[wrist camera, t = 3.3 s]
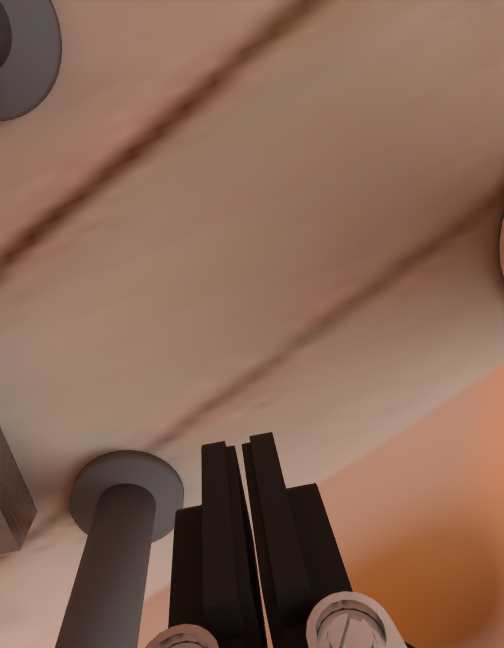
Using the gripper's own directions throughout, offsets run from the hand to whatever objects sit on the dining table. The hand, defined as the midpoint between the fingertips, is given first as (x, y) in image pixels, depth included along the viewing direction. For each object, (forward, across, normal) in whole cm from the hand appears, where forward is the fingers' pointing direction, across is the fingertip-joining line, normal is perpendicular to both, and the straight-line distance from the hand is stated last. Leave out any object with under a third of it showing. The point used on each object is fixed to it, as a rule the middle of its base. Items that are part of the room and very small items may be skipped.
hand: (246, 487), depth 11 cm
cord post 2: (+16, +8, +13) cm, 22 cm away
